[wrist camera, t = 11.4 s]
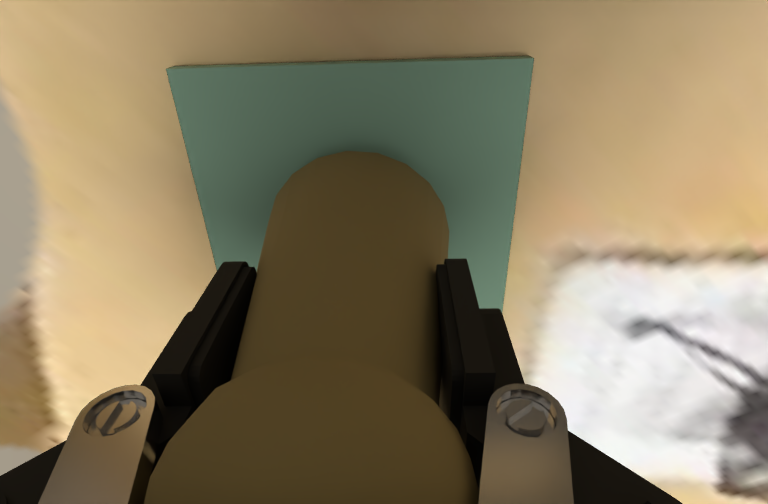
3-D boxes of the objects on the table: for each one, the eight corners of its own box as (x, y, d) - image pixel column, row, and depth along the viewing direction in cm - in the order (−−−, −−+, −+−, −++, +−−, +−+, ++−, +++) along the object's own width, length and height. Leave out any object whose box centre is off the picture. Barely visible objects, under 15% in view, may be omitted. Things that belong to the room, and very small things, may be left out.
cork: (261, 292, 16) (77, 711, 7) (278, 130, 13) (-6, 477, 4) (422, 323, 17) (457, 749, 8) (473, 174, 14) (637, 570, 4)
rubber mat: (174, 66, 14) (166, 68, 14) (528, 55, 14) (534, 58, 13) (240, 336, 20) (236, 346, 19) (495, 334, 19) (498, 344, 19)
